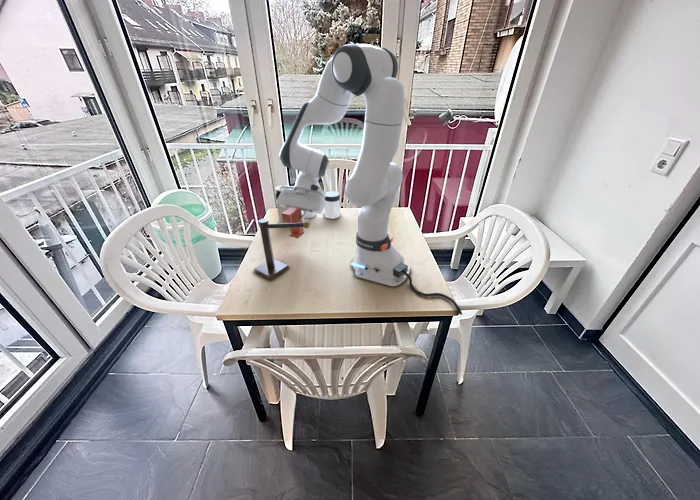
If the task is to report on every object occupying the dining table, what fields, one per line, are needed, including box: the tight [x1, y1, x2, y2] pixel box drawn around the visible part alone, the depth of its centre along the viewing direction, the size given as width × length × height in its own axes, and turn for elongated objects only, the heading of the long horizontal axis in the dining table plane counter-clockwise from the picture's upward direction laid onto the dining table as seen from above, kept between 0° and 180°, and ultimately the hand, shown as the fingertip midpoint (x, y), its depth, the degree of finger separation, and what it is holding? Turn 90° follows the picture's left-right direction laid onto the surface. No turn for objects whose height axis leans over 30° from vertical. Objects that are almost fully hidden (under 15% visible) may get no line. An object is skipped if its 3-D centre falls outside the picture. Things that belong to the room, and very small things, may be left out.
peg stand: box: [253, 218, 311, 281], centre depth 104 cm, size 22×13×21 cm, turn 95°
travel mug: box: [274, 184, 289, 223], centre depth 139 cm, size 8×8×18 cm
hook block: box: [282, 207, 305, 239], centre depth 115 cm, size 8×4×12 cm, turn 157°
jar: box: [323, 190, 341, 220], centre depth 147 cm, size 9×8×12 cm
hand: (295, 219), depth 115 cm, fingers closed on hook block, 4 cm apart
